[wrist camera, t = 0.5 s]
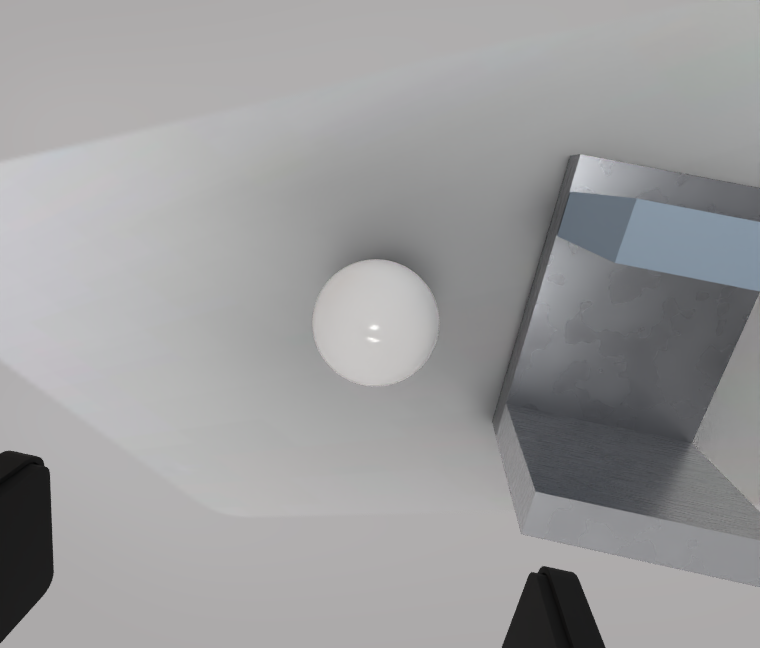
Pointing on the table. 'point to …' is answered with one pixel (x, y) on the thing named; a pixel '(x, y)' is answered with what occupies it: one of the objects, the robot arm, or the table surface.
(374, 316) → the lightbulb
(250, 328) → the table surface
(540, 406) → the vise base
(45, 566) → the robot arm
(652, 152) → the table surface
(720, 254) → the vise jaw
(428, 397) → the table surface
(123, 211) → the table surface
